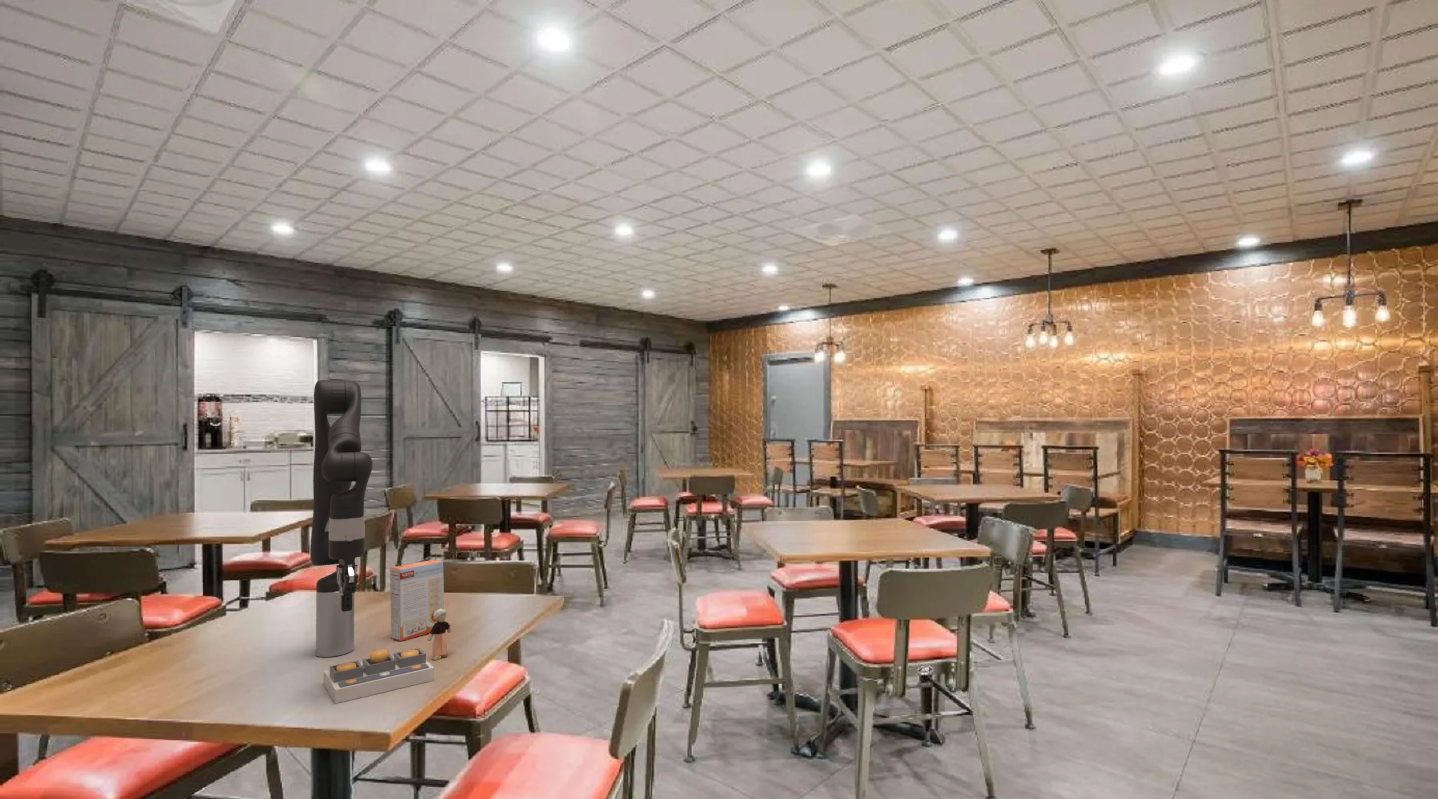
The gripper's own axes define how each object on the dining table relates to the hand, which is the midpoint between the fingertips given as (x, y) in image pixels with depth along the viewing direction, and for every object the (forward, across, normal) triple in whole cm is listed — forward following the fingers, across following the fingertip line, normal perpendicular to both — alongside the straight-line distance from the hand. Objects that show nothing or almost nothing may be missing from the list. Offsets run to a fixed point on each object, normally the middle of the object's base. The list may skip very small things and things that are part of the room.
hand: (346, 610), depth 158 cm
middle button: (+13, 0, +7) cm, 15 cm away
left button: (+15, 0, 0) cm, 15 cm away
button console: (+18, 0, +7) cm, 20 cm away
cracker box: (+19, -35, +25) cm, 47 cm away
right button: (+15, 0, +14) cm, 20 cm away
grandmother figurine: (+19, -9, +24) cm, 32 cm away
